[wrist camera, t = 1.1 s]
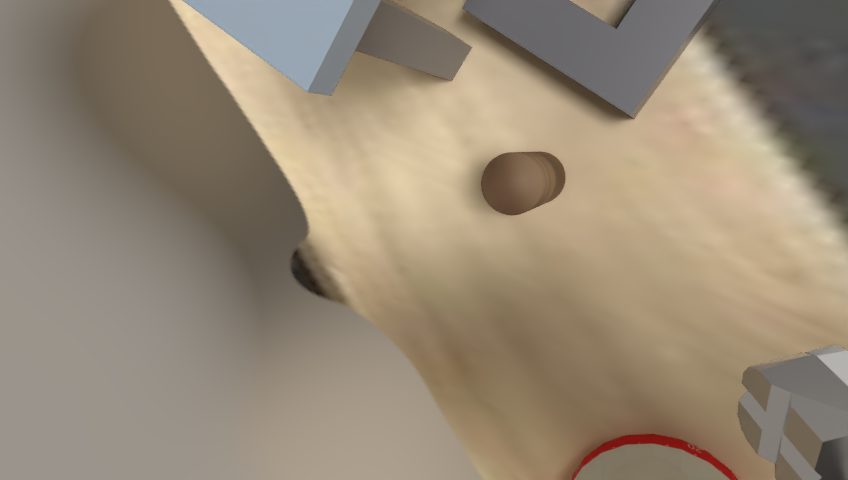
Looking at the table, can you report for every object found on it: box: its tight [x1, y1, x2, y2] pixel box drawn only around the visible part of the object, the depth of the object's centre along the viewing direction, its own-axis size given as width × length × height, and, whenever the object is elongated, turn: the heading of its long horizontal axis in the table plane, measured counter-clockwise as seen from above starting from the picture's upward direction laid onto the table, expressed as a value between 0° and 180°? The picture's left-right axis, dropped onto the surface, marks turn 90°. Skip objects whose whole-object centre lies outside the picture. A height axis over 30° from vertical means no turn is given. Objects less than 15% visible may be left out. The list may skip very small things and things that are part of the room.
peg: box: [481, 152, 565, 215], centre depth 42 cm, size 4×4×9 cm
